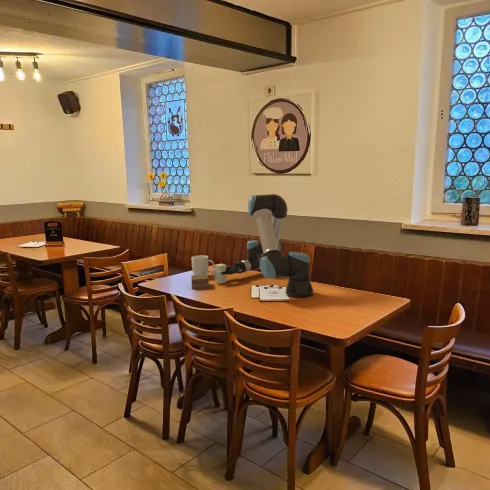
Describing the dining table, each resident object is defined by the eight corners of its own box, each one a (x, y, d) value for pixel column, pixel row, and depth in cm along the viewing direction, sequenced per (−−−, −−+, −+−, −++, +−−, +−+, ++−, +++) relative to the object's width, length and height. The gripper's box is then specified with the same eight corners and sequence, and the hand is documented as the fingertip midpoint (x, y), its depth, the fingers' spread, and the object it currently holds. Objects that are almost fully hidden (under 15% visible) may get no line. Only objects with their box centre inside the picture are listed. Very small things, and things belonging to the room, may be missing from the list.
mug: (213, 273, 295) (212, 254, 293) (216, 276, 284) (215, 257, 282) (191, 275, 292) (190, 256, 290) (193, 278, 281) (192, 259, 279)
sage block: (226, 282, 268) (225, 264, 266) (220, 283, 265) (219, 266, 263) (221, 280, 272) (220, 263, 270) (215, 282, 269) (214, 265, 267)
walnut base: (208, 288, 258) (208, 278, 257) (192, 289, 257) (191, 279, 256) (208, 283, 268) (207, 274, 267) (191, 284, 267) (191, 275, 266)
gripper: (252, 274, 273) (223, 281, 258) (233, 270, 286) (205, 277, 271) (251, 263, 272) (222, 269, 257) (232, 259, 285) (204, 265, 270)
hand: (213, 273), depth 264 cm, fingers closed on sage block, 5 cm apart
